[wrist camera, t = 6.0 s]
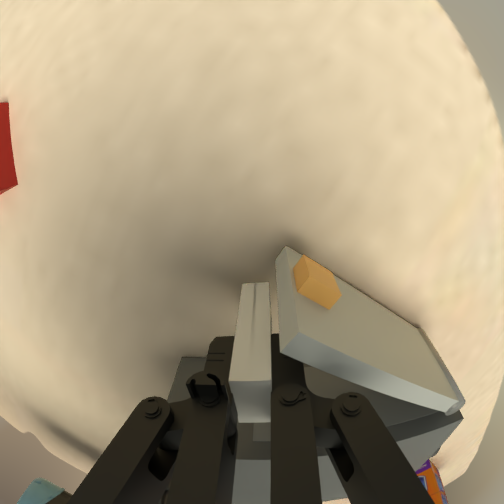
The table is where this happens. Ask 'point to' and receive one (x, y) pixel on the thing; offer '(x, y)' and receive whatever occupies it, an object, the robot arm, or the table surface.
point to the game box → (432, 482)
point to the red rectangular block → (6, 152)
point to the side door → (357, 337)
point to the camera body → (328, 386)
